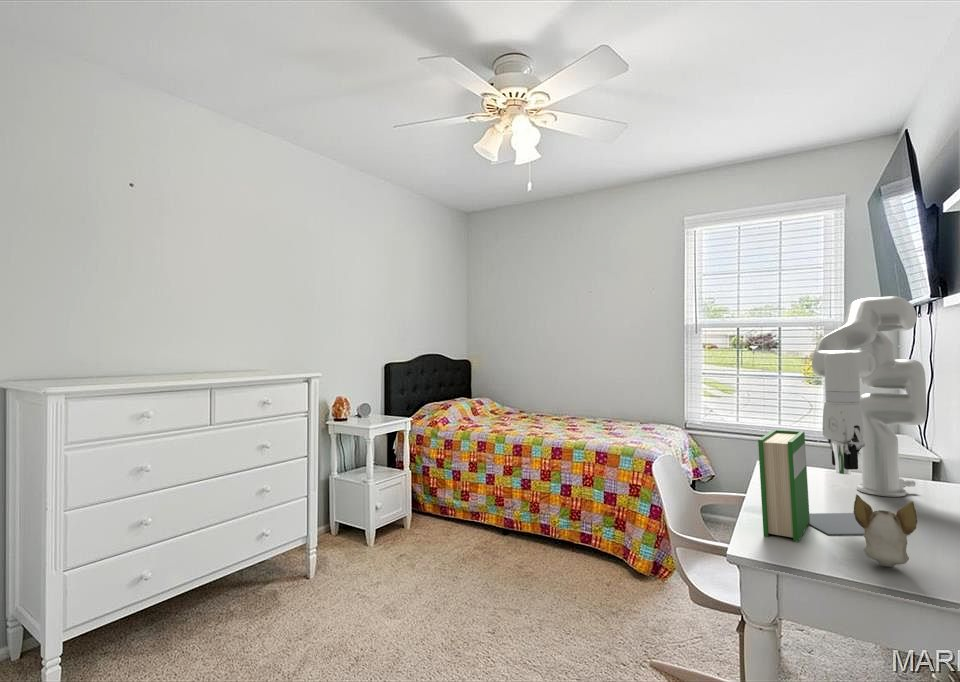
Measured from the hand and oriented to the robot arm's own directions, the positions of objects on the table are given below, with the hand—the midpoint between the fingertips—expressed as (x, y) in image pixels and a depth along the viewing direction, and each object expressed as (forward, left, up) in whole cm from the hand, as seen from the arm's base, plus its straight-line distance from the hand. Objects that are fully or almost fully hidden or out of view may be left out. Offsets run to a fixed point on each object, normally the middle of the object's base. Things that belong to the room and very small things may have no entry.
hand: (844, 466), depth 136 cm
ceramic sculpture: (+10, +27, -15) cm, 33 cm away
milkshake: (0, 0, -2) cm, 2 cm away
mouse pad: (0, 0, -15) cm, 15 cm away
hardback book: (+18, +4, -15) cm, 23 cm away
